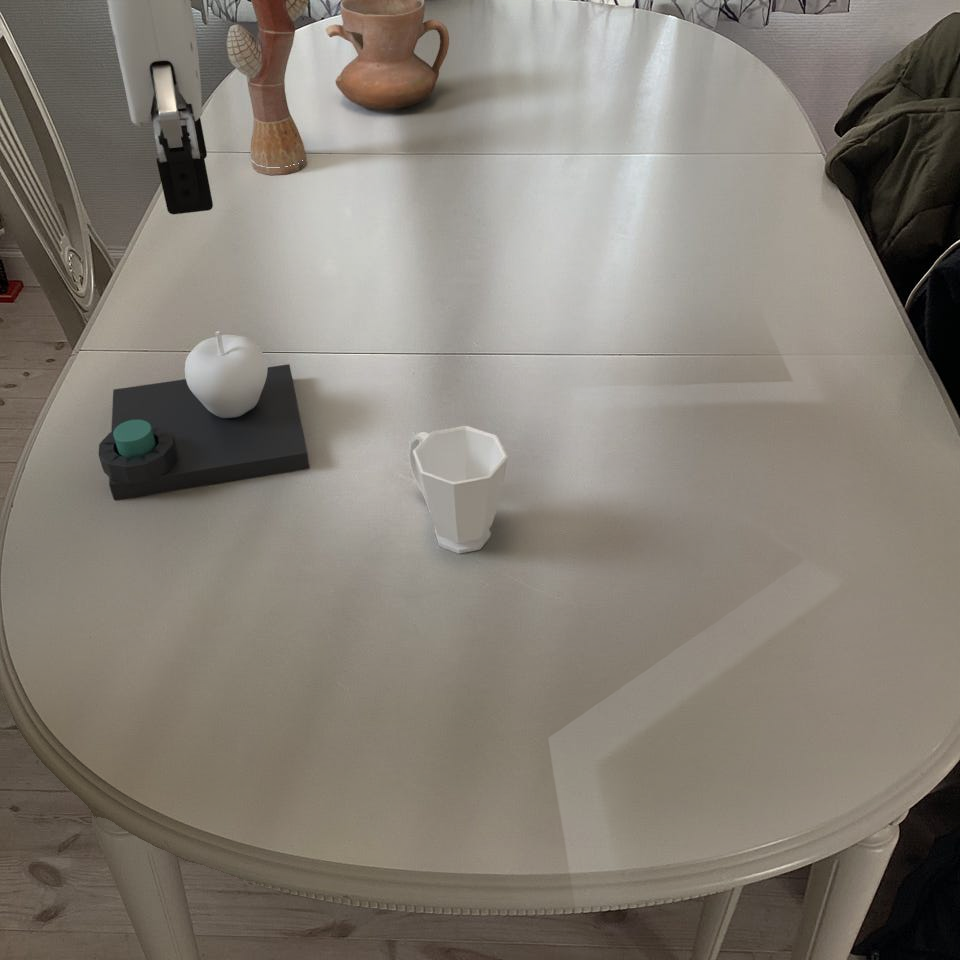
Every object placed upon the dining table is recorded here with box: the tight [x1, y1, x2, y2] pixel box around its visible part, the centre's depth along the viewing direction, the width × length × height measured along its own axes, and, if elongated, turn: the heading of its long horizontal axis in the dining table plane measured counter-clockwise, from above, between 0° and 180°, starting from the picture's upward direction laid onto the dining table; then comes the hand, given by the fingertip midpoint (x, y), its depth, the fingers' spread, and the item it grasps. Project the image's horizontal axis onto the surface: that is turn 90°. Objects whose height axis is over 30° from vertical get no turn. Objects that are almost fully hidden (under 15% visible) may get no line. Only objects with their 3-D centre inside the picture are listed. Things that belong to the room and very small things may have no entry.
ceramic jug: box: [325, 0, 450, 110], centre depth 150 cm, size 18×14×14 cm
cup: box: [407, 425, 509, 555], centre depth 78 cm, size 7×10×8 cm
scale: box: [98, 363, 310, 501], centre depth 88 cm, size 16×14×4 cm
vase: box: [226, 0, 309, 176], centre depth 127 cm, size 10×7×30 cm
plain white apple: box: [184, 330, 269, 418], centre depth 88 cm, size 7×7×8 cm
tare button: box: [113, 420, 156, 458], centre depth 83 cm, size 3×3×2 cm
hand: (188, 183), depth 77 cm, fingers open, 9 cm apart
